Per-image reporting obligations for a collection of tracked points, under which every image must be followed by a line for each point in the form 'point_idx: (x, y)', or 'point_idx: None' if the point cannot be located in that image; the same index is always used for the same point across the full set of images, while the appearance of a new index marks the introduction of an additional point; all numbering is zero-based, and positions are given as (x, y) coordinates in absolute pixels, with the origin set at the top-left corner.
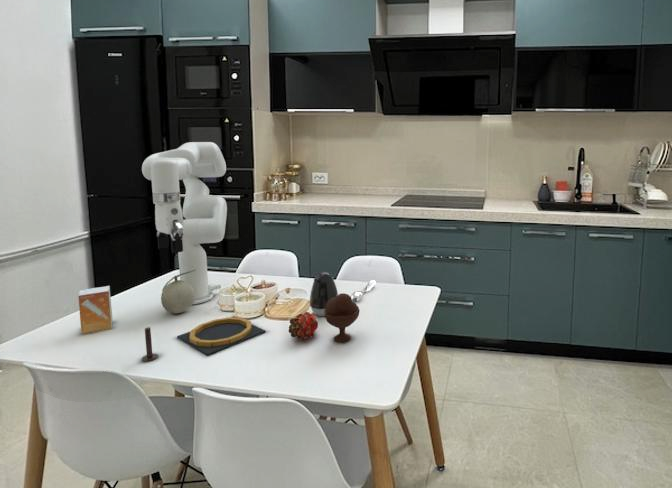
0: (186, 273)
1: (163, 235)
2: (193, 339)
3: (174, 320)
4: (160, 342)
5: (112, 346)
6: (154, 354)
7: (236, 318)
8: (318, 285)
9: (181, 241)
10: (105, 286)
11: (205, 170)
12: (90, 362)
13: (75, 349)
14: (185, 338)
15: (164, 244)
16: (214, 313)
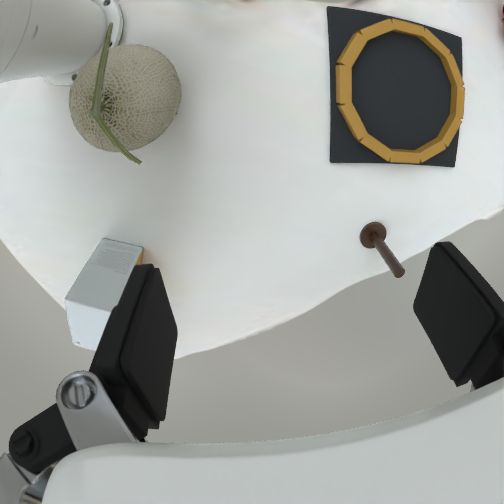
0: (105, 65)
1: (139, 408)
2: (406, 162)
3: (201, 121)
4: (320, 195)
5: (252, 266)
6: (372, 227)
7: (382, 28)
8: None
9: (496, 305)
10: (68, 307)
11: None
12: (293, 301)
13: (210, 308)
14: (361, 156)
15: (162, 320)
16: (242, 21)
